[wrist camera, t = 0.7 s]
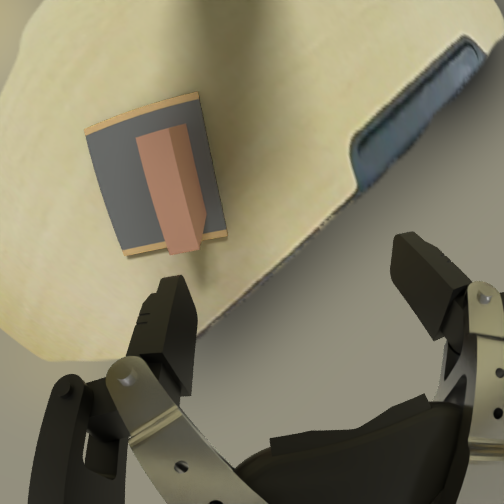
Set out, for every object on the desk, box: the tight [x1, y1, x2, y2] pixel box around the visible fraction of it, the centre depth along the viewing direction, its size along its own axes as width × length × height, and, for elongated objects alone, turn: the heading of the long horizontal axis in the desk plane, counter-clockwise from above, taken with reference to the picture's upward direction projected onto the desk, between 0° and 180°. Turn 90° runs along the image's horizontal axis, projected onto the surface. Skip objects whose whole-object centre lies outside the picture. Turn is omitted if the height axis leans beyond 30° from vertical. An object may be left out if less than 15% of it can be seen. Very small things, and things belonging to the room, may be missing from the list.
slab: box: [136, 124, 207, 255], centre depth 23 cm, size 10×3×8 cm, turn 9°
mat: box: [84, 92, 228, 256], centre depth 27 cm, size 16×13×1 cm
